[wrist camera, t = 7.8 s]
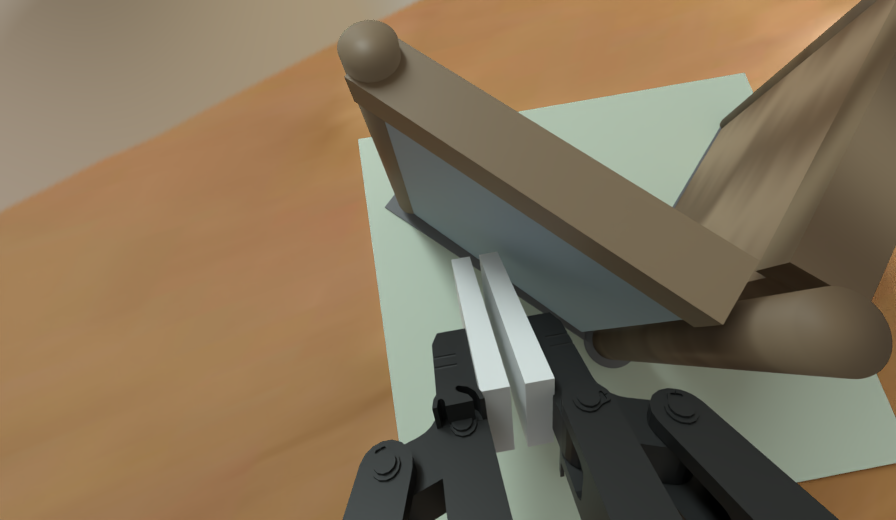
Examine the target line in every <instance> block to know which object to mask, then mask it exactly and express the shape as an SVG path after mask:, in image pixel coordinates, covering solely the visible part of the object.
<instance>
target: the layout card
mask: <svg viewBox="0 0 896 520" xmlns="http://www.w3.org/2000/svg"><path fill="white" fill-rule="evenodd" d="M752 94H753V91H752V89H751V87H750V84H749V82H748V80H747V77H746V75H745V73H740V74H735V75H729V76H723V77H717V78H711V79H705V80H700V81H694V82H688V83H682V84H676V85H671V86H665V87H659V88H653V89H647V90H642V91H636V92H630V93H624V94H618V95H613V96H607V97H601V98H595V99H589V100H584V101H578V102H572V103H566V104H560V105H555V106H549V107H543V108H537V109H531V110H526V111H520V112H518V113H520V114H522V115H523V116H525V117H527V118H528V119H530V120H531V121H533V122H535V123H536V124H538V125H540V126H541V127H543V128H544V129H546V130H548V131H549V132H551V133H553V134H554V135H556V136H558V137H559V138H561V139H562V140H564V141H566V142H567V143H569V144H571V145H572V146H574V147H575V148H577V149H579V150H580V151H582V152H584V153H585V154H587V155H588V156H590V157H592V158H593V159H595V160H597V161H598V162H600V163H601V164H603V165H605V166H606V167H608V168H610V169H611V170H613V171H614V172H616V173H618V174H619V175H621V176H623V177H624V178H626V179H627V180H629V181H631V182H632V183H634V184H636V185H637V186H639V187H640V188H642V189H644V190H645V191H647V192H649V193H650V194H652V195H653V196H655V197H657V198H658V199H660V200H662V201H663V202H665V203H666V204H668V205H670V206H671V207H673V208H675V206H676V205H677V203H678V201H679V200H680V198H681V196H682V195H683V193H684V191H685V190H686V188H687V186H688V185H689V183H690V181H691V179H692V178H693V176H694V174H695V173H696V171H697V169H698V168H699V166H700V164H701V163H702V161H703V159H704V158H705V156H706V154H707V152H708V151H709V149H710V147H711V146H712V144H713V142H714V141H715V139H716V137H717V136H718V134H719V132H720V130H721V127H720V122H721V121H722V119H724V118H725V117H726V116H727V115H728V114H729V113H731V112H732V111H733V110H734V109H735V108H736V107H738V106H739V105H740V104H741V103H742V102H743V101H745V100H746V99H747V98H748V97H749V96H750V95H752ZM358 142H359V150H360V157H361V164H362V172H363V179H364V187H365V194H366V201H367V209H368V216H369V223H370V231H371V238H372V246H373V253H374V260H375V268H376V275H377V282H378V290H379V297H380V305H381V312H382V319H383V327H384V334H385V342H386V349H387V356H388V364H389V371H390V378H391V386H392V393H393V401H394V408H395V415H396V423H397V430H398V437H399V441H400V442H402V443H404V444H406V443H408V442H410V441H412V440H414V439H416V438H417V437H419V436H421V435H422V434H424V433H425V432H426V431H427V430H428V429H429V428H430V427H431V426H432V424H433V422H434V421H435V418H434V414H433V410H432V405H433V399H434V397H435V396H436V386H435V375H434V364H433V354H432V343H433V341H434V339H435V336H436V334H437V333H441V332H447V331H452V330H458V329H463V326H462V321H461V316H460V311H459V305H458V299H457V293H456V286H455V280H454V274H453V268H452V261H451V260H452V259H458V258H464V257H469V256H470V259H471V262H472V266H473V269H474V272H475V275H476V279H477V282H478V285H479V288H480V292H481V295H482V298H483V301H484V294H483V286H482V277H481V268H480V260H479V259H477V258H476V257H475V256H473V255H472V254H470V253H469V252H467V251H466V250H465V249H463V248H462V247H460V246H459V245H458V244H456V243H455V242H453V241H452V240H450V239H449V238H448V237H446V236H445V235H443V234H442V233H440V232H439V231H438V230H436V229H435V228H433V227H432V226H431V225H429V224H428V223H426V222H425V221H423V220H422V219H421V218H419V217H418V216H416V215H415V214H409V213H406V212H404V211H403V210H402V209H401V208H400V206H399V204H398V201H397V199H396V196H395V194H394V191H393V189H392V186H391V184H390V181H389V179H388V176H387V174H386V171H385V169H384V166H383V164H382V162H381V159H380V157H379V154H378V152H377V149H376V147H375V144H374V142H373V139H372V137H369V138H363V139H358ZM512 285H513V287H514V289H515V292H516V294H517V296H518V298H519V300H520V303H521V305H522V307H523V309H524V311H525V314H526V316H531V315H537V314H542V313H548V312H550V313H551V314H552V315H554V316H555V317H556V318H558V319H559V320H560V321H561V322H562V324H563V326H564V327H565V329H566V331H567V334H569V336H570V338H571V340H572V341H573V344H574V345H575V347H576V348H577V350H578V352H579V354H580V355H581V357H582V359H583V361H584V362H585V364H586V366H587V368H588V369H589V371H590V373H591V375H592V376H593V378H594V379H595V381H596V382H597V383H598V384H600V385H601V386H603V387H605V388H606V389H607V390H608V391H609V392H610V393H613V394H615V395H618V396H622V397H627V398H637V399H646V400H651V397H652V395H653V394H654V393H655V392H657V391H658V390H661V389H666V388H673V389H680V390H683V391H686V392H688V393H691V394H693V395H694V396H696V397H697V398H699V399H700V400H702V401H703V402H704V403H705V404H706V405H708V406H709V407H710V408H711V409H712V410H713V411H715V412H716V413H717V414H718V415H719V416H720V417H721V418H723V419H724V420H725V421H726V422H727V423H728V424H729V425H731V426H732V427H733V428H734V429H735V430H736V431H737V432H739V433H740V434H741V435H742V436H743V437H744V438H746V439H747V440H748V441H749V442H750V443H751V444H752V445H754V446H755V447H756V448H757V449H758V450H759V451H760V452H762V453H763V454H764V455H765V456H766V457H767V458H769V459H770V460H771V461H772V462H773V463H774V464H775V465H777V466H778V467H779V468H780V469H781V470H782V471H783V472H785V473H786V474H787V475H788V476H789V477H790V478H792V479H793V480H794V481H795V482H801V481H807V480H812V479H817V478H822V477H827V476H832V475H837V474H842V473H847V472H852V471H858V470H863V469H868V468H873V467H878V466H883V465H888V464H893V463H896V417H895V415H894V413H893V411H892V408H891V406H890V404H889V401H888V399H887V397H886V395H885V392H884V390H883V388H882V385H881V383H880V381H879V379H878V376H877V374H875V375H873V376H871V377H867V378H864V379H845V378H832V377H820V376H807V375H795V374H782V373H770V372H758V371H745V370H733V369H720V368H708V367H695V366H683V365H670V364H658V363H646V362H633V361H621V360H610V359H606V358H604V357H602V356H601V355H599V354H598V353H597V351H596V350H595V348H594V346H593V342H592V337H593V333H594V331H595V330H594V331H585V332H581V331H579V330H578V329H577V328H575V327H574V326H572V325H571V324H570V323H568V322H567V321H565V320H564V319H562V318H561V317H560V316H558V315H557V314H555V313H554V312H553V311H551V310H550V309H548V308H547V307H545V306H544V305H543V304H541V303H540V302H538V301H537V300H536V299H534V298H533V297H531V296H530V295H528V294H527V293H526V292H524V291H523V290H521V289H520V288H518V287H517V286H516V285H514V284H513V283H512ZM484 304H485V303H484ZM510 394H511V407H512V420H513V432H514V445H515V449H514V450H509V451H503V452H498V453H496V454H497V458H498V462H499V466H500V470H501V474H502V478H503V482H504V486H505V490H506V494H507V498H508V502H509V506H510V510H511V514H512V518H513V520H581V518H580V515H579V512H578V509H577V506H576V504H575V501H574V498H573V495H572V492H571V489H570V486H569V484H568V481H567V478H566V475H565V472H564V477H560V471H559V458H560V447H559V444H558V441H557V439H556V436H555V434H554V442H552V443H547V444H541V445H536V446H531V447H528V445H527V442H526V439H525V435H524V432H523V429H522V426H521V422H520V419H519V416H518V413H517V409H516V406H515V403H514V400H513V397H512V393H511V390H510ZM435 520H447V513H445V514H444V515H442V516H440V517H439V518H437V519H435Z"/></svg>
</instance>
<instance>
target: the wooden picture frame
mask: <svg viewBox="0 0 896 520" xmlns="http://www.w3.org/2000/svg"><path fill="white" fill-rule="evenodd" d="M337 50H338V55H339V57H340V60H341V62H342V65H343V67H344V70H345V72H346V75H345V80H346V82H347V84H348V87H349V89H350V92H351V94H352V96H353V99H354V101H355V102H356V103H358V104H359V107H360V109H361V112H362V114H363V117H364V119H365V122H366V124H367V127H368V129H369V132H370V134H371V137H372V139H373V142H374V144H375V147H376V149H377V152H378V154H379V157H380V159H381V162H382V164H383V166H384V169H385V171H386V174H387V176H388V179H389V181H390V184H391V186H392V189H393V191H394V194H395V196H396V199H397V201H398V204H399V206H400V208H401V209H402V210H403V211H404V212H406V213H409V214H415V215H416V216H418V217H419V218H421V219H422V220H423V221H425V222H426V223H428V224H429V225H431V226H432V227H433V228H435V229H436V230H438V231H439V232H440V233H442V234H443V235H445V236H446V237H448V238H449V239H450V240H452V241H453V242H455V243H456V244H458V245H459V246H460V247H462V248H463V249H465V250H466V251H467V252H469V253H470V254H472V255H473V256H475V257H476V258H477V259H479V255H481V254H486V253H492V252H498V254H499V256H500V258H501V261H502V263H503V265H504V267H505V269H506V272H507V274H508V276H509V278H510V281H511V283H513V284H514V285H516V286H517V287H518V288H520V289H521V290H523V291H524V292H526V293H527V294H528V295H530V296H531V297H533V298H534V299H536V300H537V301H538V302H540V303H541V304H543V305H544V306H545V307H547V308H548V309H550V310H551V311H553V312H554V313H555V314H557V315H558V316H560V317H561V318H562V319H564V320H565V321H567V322H568V323H570V324H571V325H572V326H574V327H575V328H577V329H578V330H579V331H581V332H585V331H594V330H602V329H610V328H618V327H626V326H635V325H643V324H651V323H659V322H667V321H675V320H684V321H685V322H687V323H689V324H690V325H692V326H693V327H704V326H716V325H723V324H724V323H725V321H726V319H727V317H728V316H729V314H730V312H731V310H732V309H733V307H734V305H735V303H736V301H737V300H738V298H739V296H740V294H741V293H742V291H743V289H744V287H745V286H746V284H747V282H748V280H749V279H750V277H751V275H752V273H753V272H754V270H755V268H756V266H757V265H758V263H759V260H758V259H756V258H754V257H753V256H751V255H749V254H748V253H746V252H745V251H743V250H741V249H740V248H738V247H736V246H735V245H733V244H732V243H730V242H728V241H727V240H725V239H723V238H722V237H720V236H719V235H717V234H715V233H714V232H712V231H710V230H709V229H707V228H705V227H704V226H702V225H701V224H699V223H697V222H696V221H694V220H692V219H691V218H689V217H688V216H686V215H684V214H683V213H681V212H679V211H678V210H676V209H675V208H673V207H671V206H670V205H668V204H666V203H665V202H663V201H662V200H660V199H658V198H657V197H655V196H653V195H652V194H650V193H649V192H647V191H645V190H644V189H642V188H640V187H639V186H637V185H636V184H634V183H632V182H631V181H629V180H627V179H626V178H624V177H623V176H621V175H619V174H618V173H616V172H614V171H613V170H611V169H610V168H608V167H606V166H605V165H603V164H601V163H600V162H598V161H597V160H595V159H593V158H592V157H590V156H588V155H587V154H585V153H584V152H582V151H580V150H579V149H577V148H575V147H574V146H572V145H571V144H569V143H567V142H566V141H564V140H562V139H561V138H559V137H558V136H556V135H554V134H553V133H551V132H549V131H548V130H546V129H544V128H543V127H541V126H540V125H538V124H536V123H535V122H533V121H531V120H530V119H528V118H527V117H525V116H523V115H522V114H520V113H518V112H517V111H515V110H514V109H512V108H510V107H509V106H507V105H505V104H504V103H502V102H501V101H499V100H497V99H496V98H494V97H492V96H491V95H489V94H488V93H486V92H484V91H483V90H481V89H479V88H478V87H476V86H475V85H473V84H471V83H470V82H468V81H466V80H465V79H463V78H462V77H460V76H458V75H457V74H455V73H453V72H452V71H450V70H449V69H447V68H445V67H444V66H442V65H440V64H439V63H437V62H436V61H434V60H432V59H431V58H429V57H427V56H426V55H424V54H423V53H421V52H419V51H418V50H416V49H414V48H413V47H411V46H410V45H408V44H406V43H405V42H403V41H401V40H400V39H398V37H397V35H396V33H395V32H394V30H393V29H392V28H391V27H390V26H388V25H387V24H385V23H383V22H380V21H375V20H366V21H360V22H357V23H355V24H353V25H351V26H350V27H348V28H347V29H346V30H345V31H344V32H343V33H342V35H341V36H340V38H339V41H338V45H337ZM479 260H480V259H479Z"/></svg>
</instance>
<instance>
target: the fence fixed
mask: <svg viewBox="0 0 896 520" xmlns="http://www.w3.org/2000/svg"><path fill="white" fill-rule="evenodd" d="M720 127H721V130H720V132H719V134H718V136H717V137H716V139H715V141H714V142H713V144H712V146H711V147H710V149H709V151H708V152H707V154H706V156H705V158H704V159H703V161H702V163H701V164H700V166H699V168H698V169H697V171H696V173H695V174H694V176H693V178H692V179H691V181H690V183H689V185H688V186H687V188H686V190H685V191H684V193H683V195H682V196H681V198H680V200H679V201H678V203H677V205H676V206H675V209H676V210H678V211H679V212H681V213H683V214H684V215H686V216H688V217H689V218H691V219H692V220H694V221H696V222H697V223H699V224H701V225H702V226H704V227H705V228H707V229H709V230H710V231H712V232H714V233H715V234H717V235H719V236H720V237H722V238H723V239H725V240H727V241H728V242H730V243H732V244H733V245H735V246H736V247H738V248H740V249H741V250H743V251H745V252H746V253H748V254H749V255H751V256H753V257H754V258H756V259H758V260H759V263H758V265H757V266H756V268H755V270H754V272H753V273H752V275H751V277H750V279H749V280H748V282H747V284H746V286H745V287H744V289H743V291H742V293H741V294H740V296H739V298H738V300H737V301H736V303H735V305H734V307H733V309H732V310H731V312H730V314H729V316H728V317H727V319H726V321H725V323H724V324H723V325H716V326H704V327H693V326H692V325H690V324H689V323H687V322H685V321H684V320H675V321H667V322H659V323H651V324H643V325H635V326H626V327H618V328H610V329H602V330H595V331H594V333H593V337H592V342H593V346H594V348H595V350H596V351H597V353H598V354H599V355H601V356H602V357H604V358H606V359H610V360H621V361H633V362H646V363H658V364H670V365H683V366H695V367H708V368H720V369H733V370H745V371H758V372H770V373H782V374H795V375H807V376H820V377H832V378H845V379H864V378H867V377H871V376H873V375H875V374H877V373H878V372H880V371H881V370H882V369H883V368H884V367H885V365H886V364H887V362H888V360H889V358H890V355H891V352H892V335H891V331H890V328H889V325H888V323H887V321H886V319H885V317H884V316H883V314H882V313H881V311H880V310H879V309H878V308H877V307H876V306H875V305H874V304H873V303H872V302H871V300H872V298H873V296H874V293H875V291H876V289H877V287H878V284H879V282H880V280H881V278H882V275H883V273H884V271H885V269H886V266H887V264H888V262H889V260H890V257H891V255H892V253H893V250H894V248H895V246H896V0H861V1H860V2H859V3H858V4H857V5H856V6H854V7H853V8H852V9H851V10H850V11H849V12H847V13H846V14H845V15H844V16H843V17H841V18H840V19H839V20H838V21H837V22H836V23H834V24H833V25H832V26H831V27H830V28H829V29H827V30H826V31H825V32H824V33H823V34H822V35H820V36H819V37H818V38H817V39H816V40H815V41H813V42H812V43H811V44H810V45H809V46H808V47H806V48H805V49H804V50H803V51H802V52H801V53H799V54H798V55H797V56H796V57H795V58H794V59H792V60H791V61H790V62H789V63H788V64H787V65H785V66H784V67H783V68H782V69H781V70H780V71H778V72H777V73H776V74H775V75H774V76H773V77H771V78H770V79H769V80H768V81H767V82H766V83H764V84H763V85H762V86H761V87H760V88H759V89H757V90H756V91H755V92H754V93H753V94H752V95H750V96H749V97H748V98H747V99H746V100H745V101H743V102H742V103H741V104H740V105H739V106H738V107H736V108H735V109H734V110H733V111H732V112H731V113H729V114H728V115H727V116H726V117H725V118H724V119H722V121H721V122H720Z"/></svg>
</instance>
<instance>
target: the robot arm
mask: <svg viewBox="0 0 896 520" xmlns="http://www.w3.org/2000/svg"><path fill="white" fill-rule="evenodd" d="M479 259H480V268H481V277H482V286H483V294H484V301H483V298H482V295H481V292H480V288H479V285H478V282H477V279H476V275H475V272H474V269H473V266H472V262H471V259H470V256H469V257H464V258H458V259H452V260H451V261H452V268H453V274H454V280H455V286H456V293H457V299H458V305H459V311H460V316H461V321H462V326H463V329H458V330H452V331H447V332H441V333H437V334H436V336H435V339H434V341H433V343H432V354H433V364H434V375H435V386H436V396H435V397H434V399H433V405H432V410H433V414H434V418H435V421H434V422H433V424H432V426H431V427H430V428H429V429H428V430H427V431H426V432H425V433H424V434H422V435H421V436H419V437H417V438H416V439H414V440H412V441H410V442H408V443H406V444H404V443H402V442H400V441H395V440H388V441H382V442H381V443H379V444H377V445H375V446H373V447H372V448H371V449H370V450H369V451H368V452H367V453H366V454H365V456H364V458H363V460H362V462H361V464H360V466H359V469H358V473H357V476H356V479H355V482H354V485H353V488H352V492H351V495H350V498H349V501H348V504H347V508H346V511H345V514H344V517H343V520H435V519H437V518H439V517H440V516H442V515H444V514H445V513H447V520H513V518H512V514H511V510H510V506H509V502H508V498H507V494H506V490H505V486H504V482H503V478H502V474H501V470H500V466H499V462H498V458H497V454H496V453H498V452H503V451H509V450H514V449H515V445H514V432H513V420H512V407H511V394H510V390H511V393H512V397H513V400H514V403H515V406H516V409H517V413H518V416H519V419H520V422H521V426H522V429H523V432H524V435H525V439H526V442H527V445H528V447H531V446H536V445H541V444H547V443H552V442H554V434H555V436H556V439H557V441H558V444H559V447H560V458H559V471H560V477H564V472H565V475H566V478H567V481H568V484H569V486H570V489H571V492H572V495H573V498H574V501H575V504H576V506H577V509H578V512H579V515H580V518H581V520H839V519H838V518H836V517H835V516H834V515H833V514H832V513H831V512H829V511H828V510H827V509H826V508H825V507H824V506H823V505H821V504H820V503H819V502H818V501H817V500H816V499H815V498H813V497H812V496H811V495H810V494H809V493H808V492H806V491H805V490H804V489H803V488H802V487H801V486H800V485H798V484H797V483H796V482H795V481H794V480H793V479H792V478H790V477H789V476H788V475H787V474H786V473H785V472H783V471H782V470H781V469H780V468H779V467H778V466H777V465H775V464H774V463H773V462H772V461H771V460H770V459H769V458H767V457H766V456H765V455H764V454H763V453H762V452H760V451H759V450H758V449H757V448H756V447H755V446H754V445H752V444H751V443H750V442H749V441H748V440H747V439H746V438H744V437H743V436H742V435H741V434H740V433H739V432H737V431H736V430H735V429H734V428H733V427H732V426H731V425H729V424H728V423H727V422H726V421H725V420H724V419H723V418H721V417H720V416H719V415H718V414H717V413H716V412H715V411H713V410H712V409H711V408H710V407H709V406H708V405H706V404H705V403H704V402H703V401H702V400H700V399H699V398H697V397H696V396H694V395H693V394H691V393H688V392H686V391H683V390H680V389H673V388H666V389H661V390H658V391H657V392H655V393H654V394H653V395H652V397H651V400H646V399H637V398H627V397H622V396H618V395H615V394H613V393H610V392H609V391H608V390H607V389H606V388H605V387H603V386H601V385H600V384H598V383H597V382H596V381H595V379H594V378H593V376H592V375H591V373H590V371H589V369H588V368H587V366H586V364H585V362H584V361H583V359H582V357H581V355H580V354H579V352H578V350H577V348H576V347H575V345H574V344H573V341H572V340H571V338H570V336H569V334H567V331H566V329H565V327H564V326H563V324H562V322H561V321H560V320H559V319H558V318H556V317H555V316H554V315H552V314H551V313H550V312H548V313H542V314H537V315H531V316H526V314H525V311H524V309H523V307H522V305H521V303H520V300H519V298H518V296H517V294H516V292H515V289H514V287H513V285H512V283H511V281H510V278H509V276H508V274H507V272H506V269H505V267H504V265H503V263H502V261H501V258H500V256H499V254H498V252H492V253H486V254H481V255H479ZM484 303H485V304H484Z"/></svg>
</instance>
